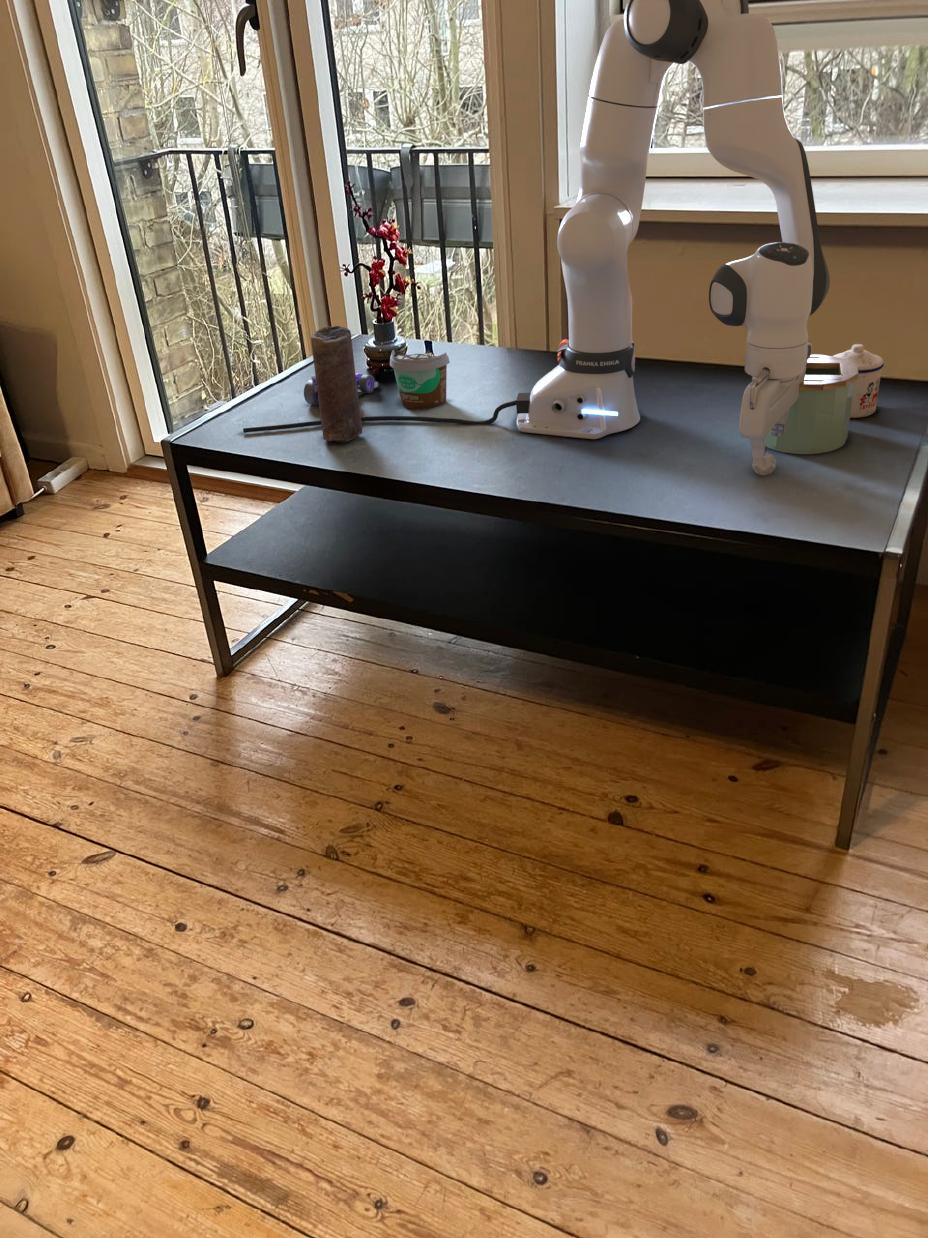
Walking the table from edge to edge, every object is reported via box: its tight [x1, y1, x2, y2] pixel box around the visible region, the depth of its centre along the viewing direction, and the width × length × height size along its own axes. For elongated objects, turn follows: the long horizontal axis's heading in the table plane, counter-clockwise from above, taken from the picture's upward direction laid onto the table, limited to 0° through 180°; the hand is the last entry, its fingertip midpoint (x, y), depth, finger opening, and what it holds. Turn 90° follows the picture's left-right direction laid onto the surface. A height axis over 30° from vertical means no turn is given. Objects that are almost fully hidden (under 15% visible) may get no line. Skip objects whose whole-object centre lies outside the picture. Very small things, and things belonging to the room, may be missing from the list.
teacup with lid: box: [831, 343, 885, 419], centre depth 178 cm, size 12×9×12 cm
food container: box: [389, 349, 450, 410], centre depth 197 cm, size 12×6×10 cm, turn 68°
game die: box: [751, 452, 777, 476], centre depth 160 cm, size 4×4×3 cm
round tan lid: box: [799, 353, 859, 390], centre depth 165 cm, size 15×15×1 cm
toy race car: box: [303, 372, 379, 406], centre depth 205 cm, size 10×15×6 cm, turn 152°
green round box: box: [765, 369, 855, 455], centre depth 168 cm, size 14×14×11 cm
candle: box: [310, 325, 363, 443], centre depth 182 cm, size 8×7×20 cm
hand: (768, 445), depth 158 cm, fingers open, 8 cm apart
